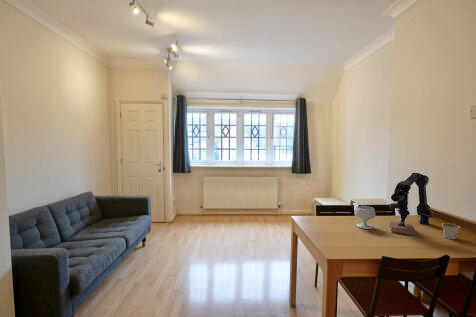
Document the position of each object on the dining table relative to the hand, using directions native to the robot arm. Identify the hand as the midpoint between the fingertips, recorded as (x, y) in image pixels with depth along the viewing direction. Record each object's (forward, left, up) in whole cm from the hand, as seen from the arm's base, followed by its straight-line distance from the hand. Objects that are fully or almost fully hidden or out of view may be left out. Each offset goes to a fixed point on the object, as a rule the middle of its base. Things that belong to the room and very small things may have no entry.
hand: (402, 221), depth 176 cm
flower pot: (+1, +27, -8) cm, 28 cm away
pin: (0, 0, -3) cm, 3 cm away
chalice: (+2, -24, -8) cm, 25 cm away
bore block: (0, 0, -7) cm, 7 cm away
